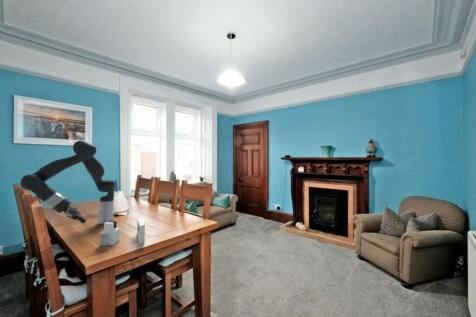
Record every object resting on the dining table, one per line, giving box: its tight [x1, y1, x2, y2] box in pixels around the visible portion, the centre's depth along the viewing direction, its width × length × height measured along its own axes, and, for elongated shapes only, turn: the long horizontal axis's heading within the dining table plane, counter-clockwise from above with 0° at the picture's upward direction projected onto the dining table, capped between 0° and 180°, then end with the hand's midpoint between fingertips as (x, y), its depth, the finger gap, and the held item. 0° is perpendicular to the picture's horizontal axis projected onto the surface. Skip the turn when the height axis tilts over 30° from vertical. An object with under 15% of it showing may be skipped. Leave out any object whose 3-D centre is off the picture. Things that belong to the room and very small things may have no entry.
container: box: [99, 220, 121, 246], centre depth 129 cm, size 8×8×13 cm
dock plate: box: [136, 217, 146, 245], centre depth 137 cm, size 3×18×11 cm, turn 29°
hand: (85, 221), depth 123 cm, fingers closed
